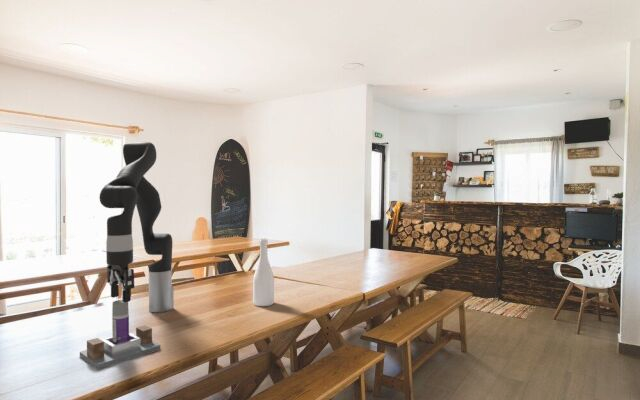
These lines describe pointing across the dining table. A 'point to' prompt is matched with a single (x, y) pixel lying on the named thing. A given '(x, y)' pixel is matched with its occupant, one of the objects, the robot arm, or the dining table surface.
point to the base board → (119, 355)
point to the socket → (121, 345)
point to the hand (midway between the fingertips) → (120, 299)
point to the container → (120, 322)
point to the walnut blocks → (97, 346)
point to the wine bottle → (263, 279)
